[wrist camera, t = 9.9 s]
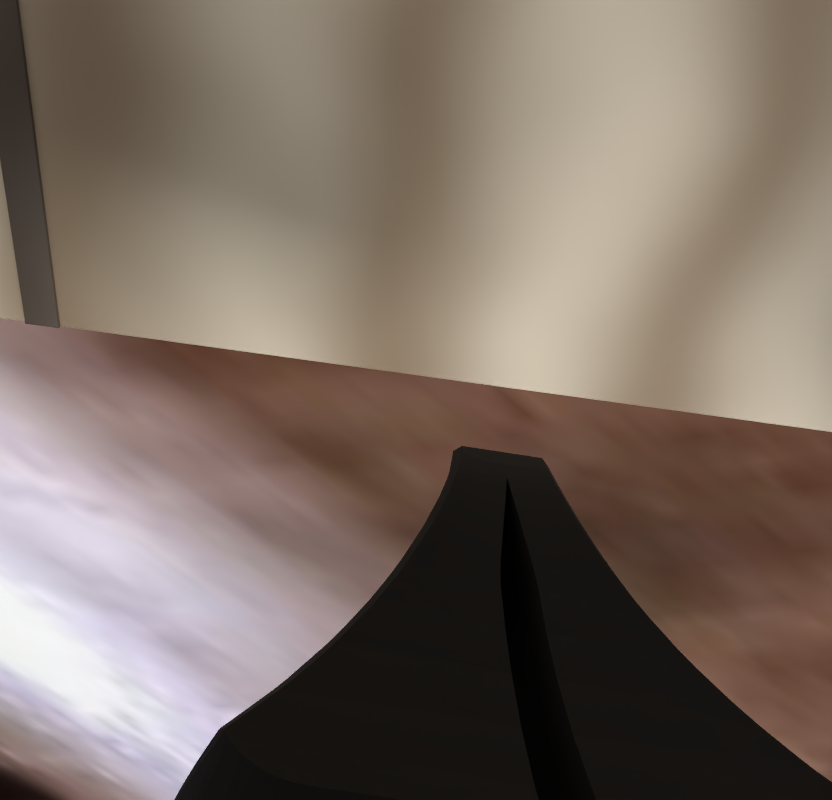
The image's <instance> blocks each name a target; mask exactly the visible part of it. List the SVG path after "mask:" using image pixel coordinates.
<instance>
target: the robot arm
mask: <svg viewBox="0 0 832 800" xmlns="http://www.w3.org/2000/svg"><path fill="white" fill-rule="evenodd" d="M175 800H832V782H831V781H829V780H828V779H826V778H825V777H824V776H822V775H821V774H819V773H818V772H817V771H815V770H814V769H813V768H811V767H810V766H809V765H807V764H806V763H805V762H803V761H802V760H801V759H800V758H799V757H797V756H796V755H795V754H794V753H792V752H791V751H790V750H789V749H787V748H786V747H785V746H784V745H782V744H781V743H780V742H779V741H777V740H776V739H775V738H774V737H773V736H771V735H770V734H769V733H768V732H766V731H765V730H764V729H763V728H761V727H760V726H759V725H758V724H757V723H756V722H754V721H753V720H752V719H751V718H750V717H749V716H748V715H746V714H745V713H744V712H743V711H742V710H741V709H739V708H738V707H737V706H736V705H735V704H734V703H733V702H732V701H730V700H729V699H728V698H727V697H726V696H725V695H724V694H723V693H722V692H721V691H720V690H719V689H718V688H717V687H716V686H715V685H714V684H713V683H711V682H710V681H709V680H708V679H707V678H706V677H705V676H704V675H703V674H702V673H701V672H700V671H699V670H698V669H697V668H696V667H695V666H694V665H693V664H692V663H691V662H690V661H689V660H688V659H687V658H686V657H685V656H684V655H683V654H682V653H681V652H680V651H679V650H678V649H677V648H676V647H675V646H674V645H673V644H672V642H671V641H670V640H669V639H668V638H667V637H666V636H665V635H664V634H663V632H662V631H661V630H660V629H659V628H658V627H657V626H656V625H655V624H654V622H653V621H652V620H651V619H650V618H649V617H648V616H647V615H646V613H645V612H644V611H643V610H642V609H641V607H640V606H639V605H638V604H637V603H636V601H635V600H634V599H633V598H632V596H631V595H630V594H629V592H628V591H627V590H626V588H625V587H624V586H623V584H622V583H621V582H620V580H619V579H618V578H617V576H616V575H615V574H614V572H613V571H612V570H611V568H610V567H609V565H608V564H607V562H606V561H605V560H604V558H603V557H602V555H601V554H600V552H599V551H598V549H597V548H596V546H595V545H594V543H593V542H592V540H591V539H590V537H589V536H588V534H587V532H586V531H585V529H584V528H583V526H582V525H581V523H580V521H579V520H578V518H577V517H576V515H575V513H574V512H573V510H572V508H571V507H570V505H569V503H568V502H567V500H566V498H565V496H564V495H563V493H562V491H561V489H560V488H559V486H558V484H557V482H556V480H555V479H554V477H553V475H552V473H551V471H550V470H549V468H548V466H547V465H546V463H545V462H544V460H543V459H542V458H538V457H531V456H524V455H518V454H511V453H504V452H498V451H491V450H485V449H478V448H471V447H465V446H461V447H460V448H458V449H456V450H455V451H453V456H452V461H451V466H450V472H449V475H448V478H447V481H446V483H445V485H444V487H443V490H442V492H441V494H440V496H439V498H438V500H437V502H436V504H435V506H434V508H433V510H432V511H431V513H430V515H429V517H428V519H427V521H426V523H425V524H424V526H423V528H422V529H421V531H420V532H419V534H418V535H417V537H416V538H415V540H414V541H413V543H412V544H411V546H410V547H409V549H408V550H407V552H406V553H405V555H404V556H403V558H402V559H401V561H400V562H399V564H398V565H397V566H396V568H395V569H394V570H393V572H392V573H391V574H390V575H389V577H388V578H387V579H386V581H385V582H384V583H383V584H382V585H381V587H380V588H379V589H378V590H377V592H376V593H375V594H374V595H373V596H372V598H371V599H370V600H369V601H368V602H367V603H366V604H365V605H364V606H363V608H362V609H361V610H360V611H359V612H358V613H357V614H356V615H355V616H354V617H353V618H352V619H351V620H350V621H349V623H348V624H347V625H346V626H345V627H344V628H343V629H342V630H341V631H340V632H339V633H338V634H337V635H336V636H335V637H334V638H333V639H332V640H331V641H330V642H329V643H328V644H326V645H325V646H324V647H323V648H322V649H321V650H320V651H318V652H317V653H316V654H315V655H314V656H313V657H312V658H310V659H309V660H308V661H307V662H306V663H305V664H304V665H302V666H301V667H300V668H299V669H298V670H297V671H296V672H294V673H293V674H292V675H291V676H290V677H289V678H288V679H286V680H285V681H284V682H283V683H281V684H280V685H279V686H278V687H276V688H275V689H274V690H273V691H271V692H270V693H268V694H267V695H266V696H264V697H263V698H261V699H260V700H259V701H257V702H256V703H255V704H253V705H252V706H250V707H249V708H248V709H246V710H245V711H244V712H242V713H241V714H239V715H238V716H237V717H235V718H234V719H232V720H231V721H230V722H228V723H227V724H225V725H224V726H223V727H221V728H220V729H219V730H218V732H217V733H216V735H215V736H214V737H213V739H212V740H211V742H210V743H209V745H208V746H207V748H206V749H205V751H204V752H203V754H202V755H201V757H200V758H199V760H198V761H197V763H196V764H195V766H194V767H193V769H192V771H191V772H190V774H189V776H188V777H187V779H186V780H185V782H184V784H183V785H182V787H181V789H180V791H179V792H178V794H177V796H176V798H175Z"/></svg>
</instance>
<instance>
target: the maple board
mask: <svg viewBox="0 0 832 800" xmlns="http://www.w3.org/2000/svg"><path fill="white" fill-rule="evenodd" d="M0 318H4V319H11V320H18V321H25V323H26V324H33V325H40V326H47V327H55V328H59V327H60V326H62V327H70V328H77V329H84V330H92V331H99V332H106V333H113V334H121V335H128V336H135V337H143V338H150V339H157V340H165V341H172V342H179V343H186V344H194V345H201V346H208V347H216V348H223V349H230V350H238V351H245V352H252V353H260V354H267V355H274V356H281V357H289V358H296V359H303V360H311V361H318V362H325V363H333V364H340V365H347V366H354V367H362V368H369V369H376V370H384V371H391V372H398V373H406V374H413V375H420V376H428V377H435V378H442V379H449V380H457V381H464V382H471V383H479V384H486V385H493V386H501V387H508V388H515V389H522V390H530V391H537V392H544V393H552V394H559V395H566V396H574V397H581V398H588V399H596V400H603V401H610V402H617V403H625V404H632V405H639V406H647V407H654V408H661V409H669V410H676V411H683V412H690V413H698V414H705V415H712V416H720V417H727V418H734V419H742V420H749V421H756V422H764V423H771V424H778V425H785V426H793V427H800V428H807V429H815V430H822V431H829V432H832V0H0Z"/></svg>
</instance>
